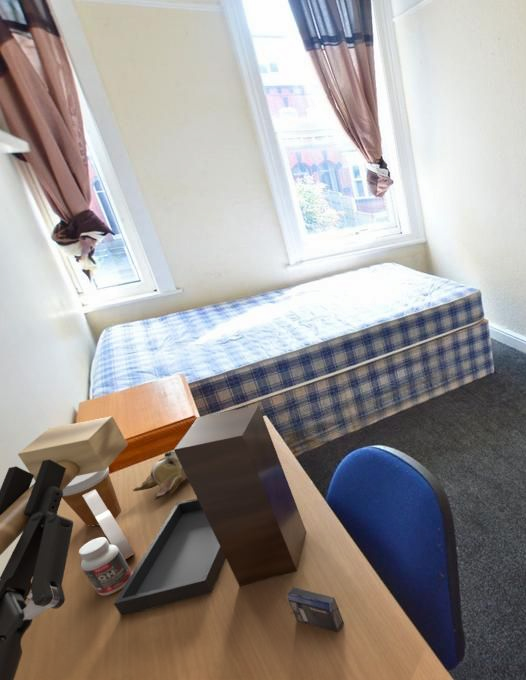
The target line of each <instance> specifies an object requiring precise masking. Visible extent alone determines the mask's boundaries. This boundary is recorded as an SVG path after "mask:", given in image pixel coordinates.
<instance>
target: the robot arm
mask: <svg viewBox="0 0 526 680" xmlns="http://www.w3.org/2000/svg"><path fill="white" fill-rule="evenodd" d="M65 470H66V468H65V467H63V466H61V465H59V464H57V463H56V462H54V461H52V460H45V461H43V462H42V464H41V467H40V470H39V473H38V475H37V478H36V481H35V480H34V478H33V476H34V475H33V474H31V473H30V472H29V471H28V470H27V471H26V470H24V469H23V468H20V467H19V466H16V465H15V466H12V467H8V469H7V472H6V475H5V476H4V479H3V481H2V483H1V486H0V515H1V514H2V513H3V512H4V511H5V510H7V509H8V508H9V507H10V506H11V505H12V504H13V503H14V502H15V501H16V500H17V499H18V498H19V497H20V496H21V495H22V494H24V493H25V492H26V491H27V490H28V489H29V488H30V487H31V486H32V482H33V480H34V483H35V484H34V483H33V484H34V486H33V489H32V492H31V495H30V497H29V500H28V503H27V506H26V508H25V511H24V515H27V516H30V519H29V521H28V523H27V525H26V527H25V529H24V531H23V532H22V533H21V534H20V536H19V539H18V541H17V543H16V545H15V546H14V549H13V551H12V553H11V555H10V557H9V559H8V560H7V563H6V565H5V567H4V568H3V571H2V573H1V575H0V680H15V677H16V675H17V671H18V668H19V665H20V661H21V658H22V654H23V649H22V639H23V637H24V635H25V633H26V631H28V629H29V628H30V626H31V625H32V623H33V619H34V618H36V617H38V616H39V615H41V614H42V613H44V612H45V611H47V610H48V609H54V610H57V609H59V608H61V607H62V606H63V605H64V604H65V601H66V597H65V593H64V589H63V581H64V575H65V569H66V564H67V559H68V554H69V549H70V545H71V539H72V533H73V529H74V521H73V520H72V519H69V518H67V517H65V516H62V515H60V514H58V511H59V508H60V505H61V502H62V499H63V498H62V496H63V490H61V489H60V486H61V483H62V479H63V476H64V473H65ZM27 600H28V602H27ZM26 602H27V603H26Z"/></svg>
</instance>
